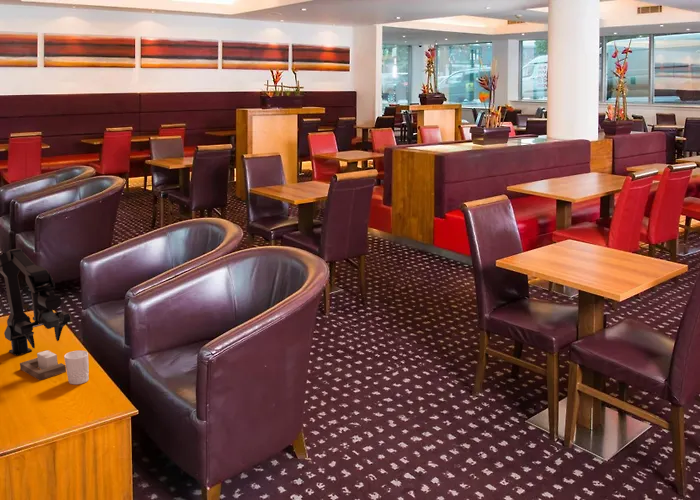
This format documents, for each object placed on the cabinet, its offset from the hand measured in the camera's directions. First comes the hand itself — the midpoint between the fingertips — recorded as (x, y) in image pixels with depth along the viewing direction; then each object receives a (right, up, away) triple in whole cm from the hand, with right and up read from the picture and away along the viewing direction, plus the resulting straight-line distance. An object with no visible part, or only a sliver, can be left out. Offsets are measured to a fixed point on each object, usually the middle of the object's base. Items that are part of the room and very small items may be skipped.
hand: (45, 344), depth 267 cm
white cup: (+15, -12, -7) cm, 21 cm away
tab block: (0, -10, +3) cm, 10 cm away
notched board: (-1, -10, +1) cm, 10 cm away
